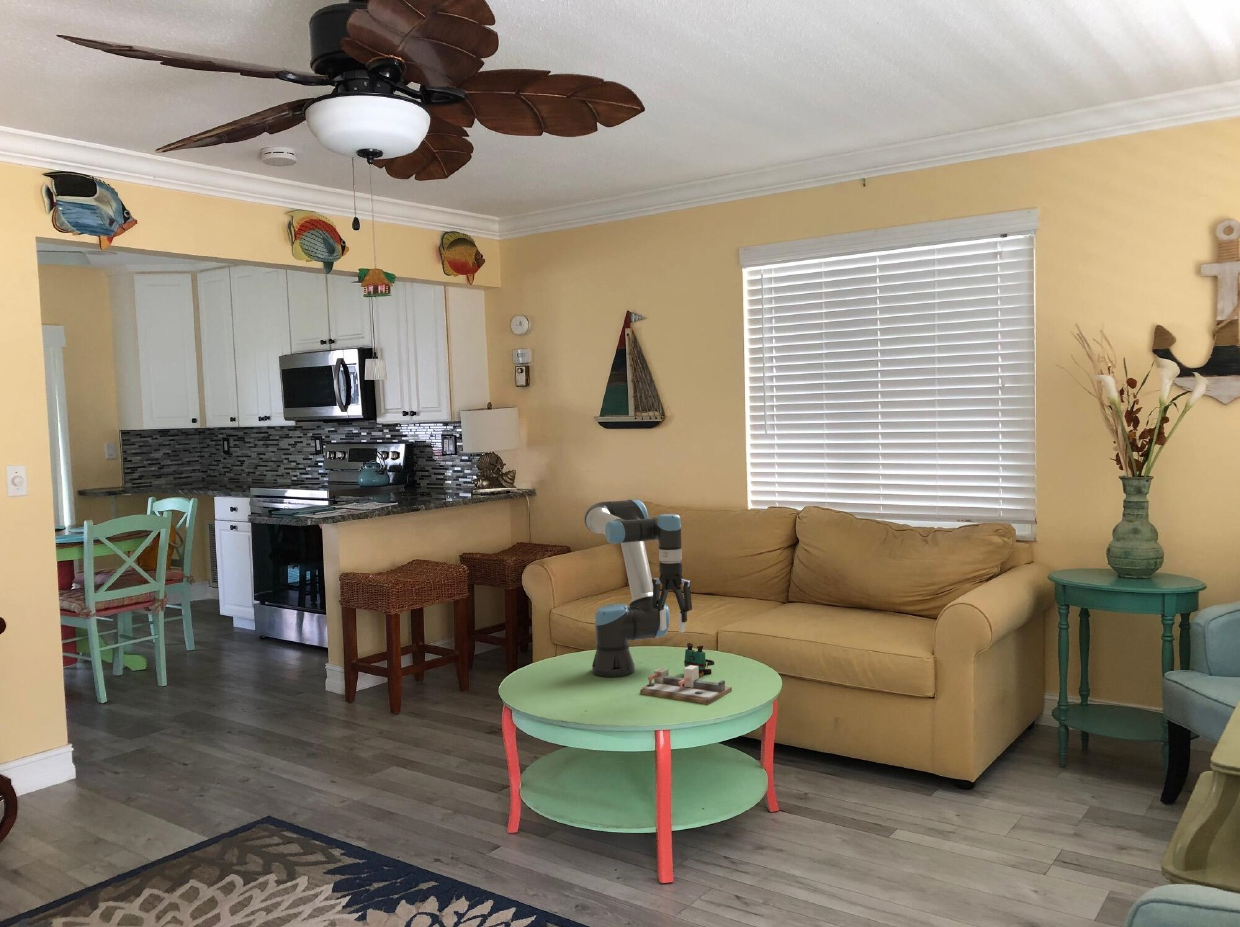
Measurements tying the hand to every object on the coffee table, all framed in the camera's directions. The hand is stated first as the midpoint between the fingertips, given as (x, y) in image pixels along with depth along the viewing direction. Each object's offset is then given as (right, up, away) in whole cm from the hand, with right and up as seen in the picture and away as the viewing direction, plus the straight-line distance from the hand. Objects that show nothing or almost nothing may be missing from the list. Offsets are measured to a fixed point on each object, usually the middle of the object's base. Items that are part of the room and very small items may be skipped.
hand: (672, 630), depth 310 cm
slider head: (+5, -18, -5) cm, 19 cm away
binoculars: (+10, -18, +17) cm, 27 cm away
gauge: (+4, -19, -5) cm, 20 cm away
